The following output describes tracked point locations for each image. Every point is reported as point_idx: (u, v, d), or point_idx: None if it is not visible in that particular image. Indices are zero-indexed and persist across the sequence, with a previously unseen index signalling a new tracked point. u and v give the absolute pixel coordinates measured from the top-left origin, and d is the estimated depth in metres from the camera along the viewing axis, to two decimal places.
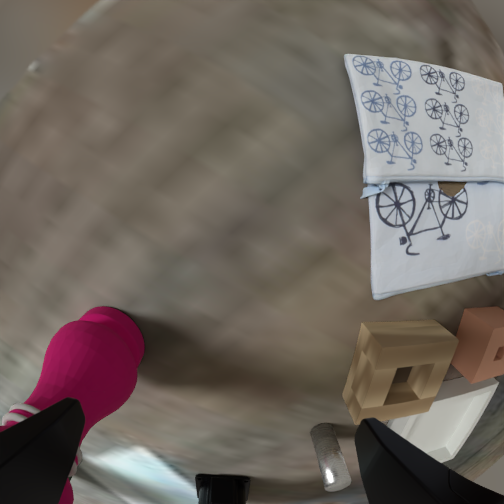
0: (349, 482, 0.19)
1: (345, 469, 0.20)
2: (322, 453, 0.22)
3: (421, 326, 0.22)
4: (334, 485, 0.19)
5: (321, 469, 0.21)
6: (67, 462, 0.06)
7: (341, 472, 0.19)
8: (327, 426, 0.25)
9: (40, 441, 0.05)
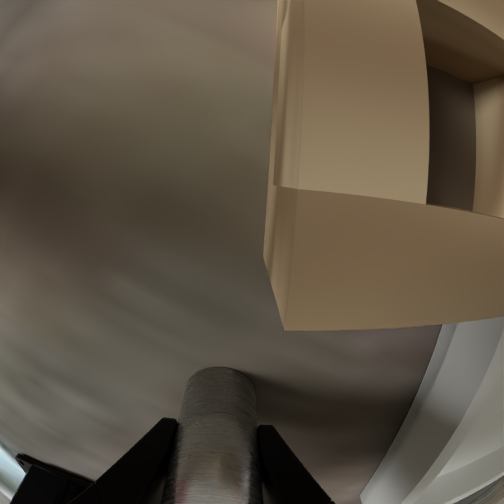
0: None
1: None
2: (173, 465, 0.05)
3: None
4: None
5: None
6: None
7: None
8: (227, 378, 0.09)
9: (151, 474, 0.05)
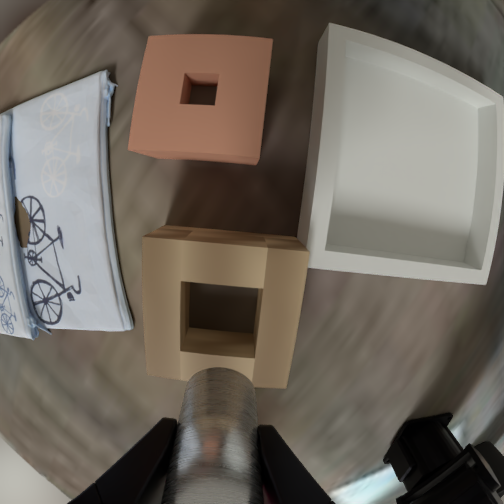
0: None
1: None
2: (173, 466, 0.05)
3: None
4: None
5: None
6: None
7: None
8: (228, 378, 0.09)
9: (151, 474, 0.05)
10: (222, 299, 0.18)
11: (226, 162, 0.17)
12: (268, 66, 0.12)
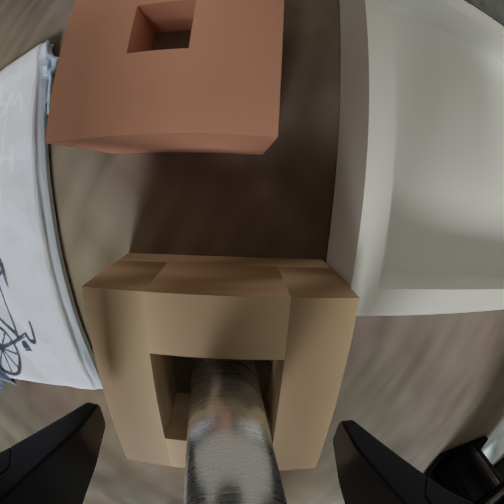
0: None
1: (265, 475, 0.05)
2: (195, 411, 0.07)
3: None
4: None
5: (185, 464, 0.06)
6: (88, 469, 0.06)
7: (243, 486, 0.05)
8: None
9: (62, 450, 0.05)
10: None
11: (216, 152, 0.11)
12: None
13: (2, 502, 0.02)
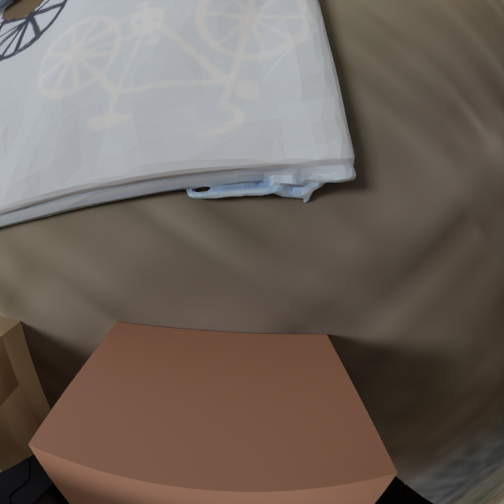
0: None
1: None
2: None
3: None
4: None
5: None
6: None
7: None
8: None
9: None
10: None
11: None
12: None
13: None
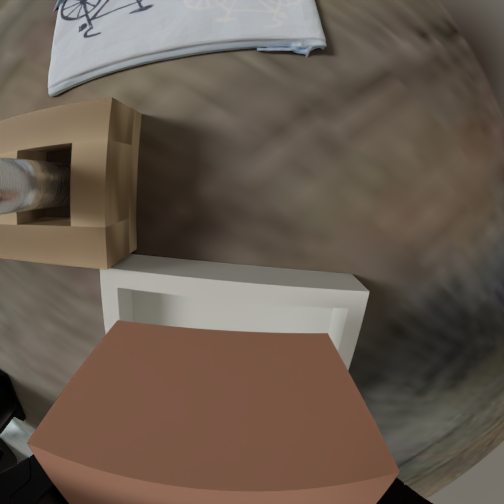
0: None
1: (5, 205, 0.08)
2: (41, 166, 0.11)
3: None
4: None
5: (13, 158, 0.09)
6: None
7: (2, 192, 0.08)
8: None
9: None
10: None
11: None
12: None
13: None
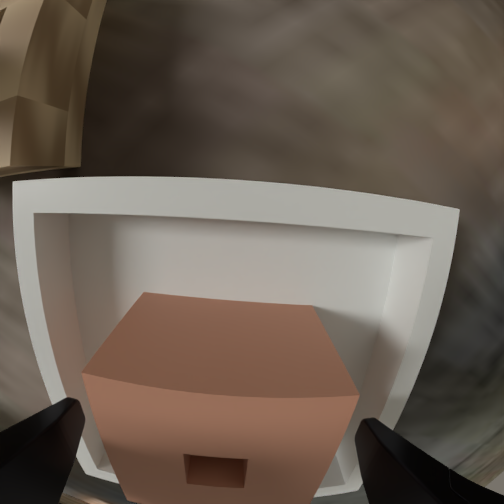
0: None
1: None
2: None
3: None
4: None
5: None
6: (66, 462, 0.06)
7: None
8: None
9: (40, 441, 0.05)
10: None
11: None
12: None
13: None
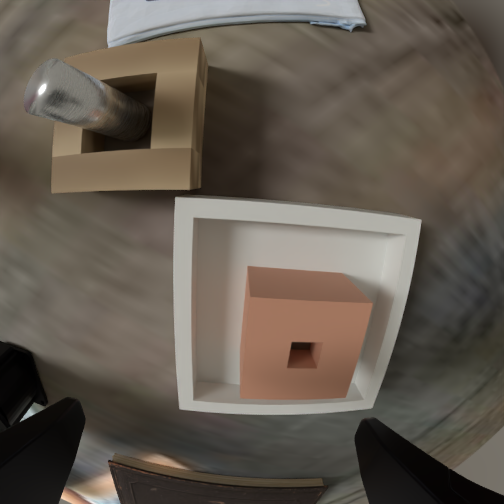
0: (30, 109, 0.08)
1: (60, 115, 0.09)
2: (113, 95, 0.11)
3: None
4: (45, 78, 0.08)
5: (89, 75, 0.10)
6: (67, 462, 0.06)
7: (63, 103, 0.09)
8: (138, 133, 0.15)
9: (40, 441, 0.05)
10: None
11: (241, 331, 0.19)
12: (319, 398, 0.15)
13: None
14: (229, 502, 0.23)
